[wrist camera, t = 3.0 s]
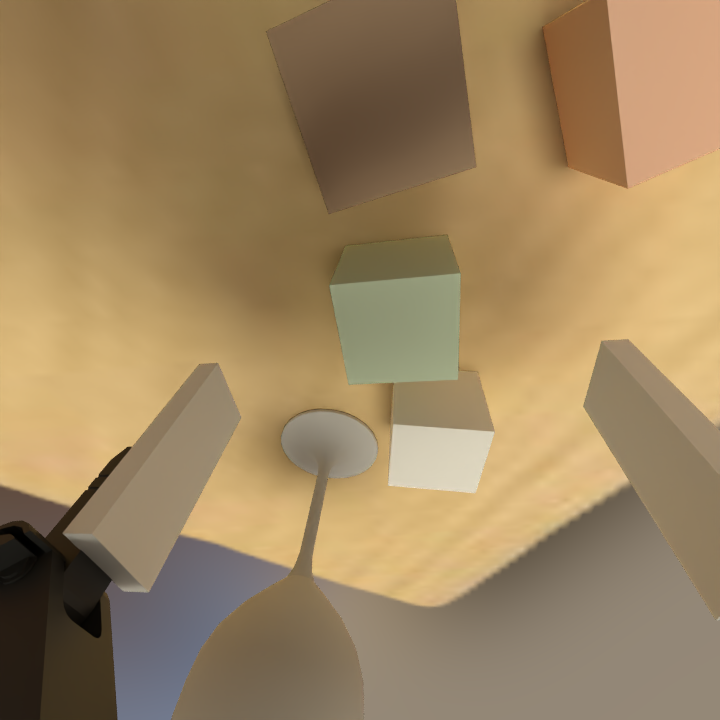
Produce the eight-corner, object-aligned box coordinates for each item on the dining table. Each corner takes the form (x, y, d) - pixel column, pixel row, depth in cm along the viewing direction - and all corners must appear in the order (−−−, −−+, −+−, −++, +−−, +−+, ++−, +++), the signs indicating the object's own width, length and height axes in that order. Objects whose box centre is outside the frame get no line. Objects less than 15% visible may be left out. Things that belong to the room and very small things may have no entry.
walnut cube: (306, 53, 14) (265, 31, 10) (434, -5, 13) (448, -57, 9) (347, 187, 17) (328, 214, 13) (457, 150, 15) (476, 167, 11)
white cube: (394, 366, 22) (393, 424, 18) (477, 371, 22) (494, 431, 18) (390, 424, 25) (388, 485, 21) (463, 429, 25) (475, 493, 21)
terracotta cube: (541, 27, 13) (606, -10, 9) (709, -76, 11) (884, -179, 7) (567, 166, 15) (627, 188, 11) (709, 99, 14) (840, 96, 10)
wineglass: (375, 405, 24) (307, 1143, 7) (384, 477, 28) (357, 1043, 11) (267, 408, 25) (-20, 1049, 8) (292, 477, 29) (139, 992, 12)
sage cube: (345, 245, 18) (329, 285, 14) (447, 234, 17) (460, 273, 13) (359, 330, 21) (348, 384, 17) (447, 324, 20) (458, 379, 16)
